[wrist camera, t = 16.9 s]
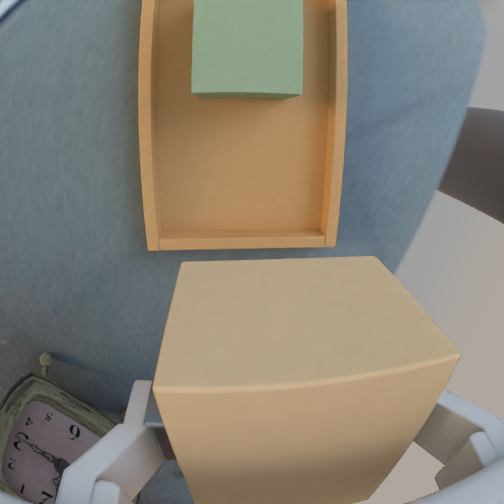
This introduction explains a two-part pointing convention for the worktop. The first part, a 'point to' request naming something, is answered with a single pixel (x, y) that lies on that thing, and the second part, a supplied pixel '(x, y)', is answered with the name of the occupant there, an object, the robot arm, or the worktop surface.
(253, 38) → the sage pad
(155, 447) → the robot arm
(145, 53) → the tray
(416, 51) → the worktop surface
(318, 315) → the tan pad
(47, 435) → the tabletop clock
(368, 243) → the worktop surface
